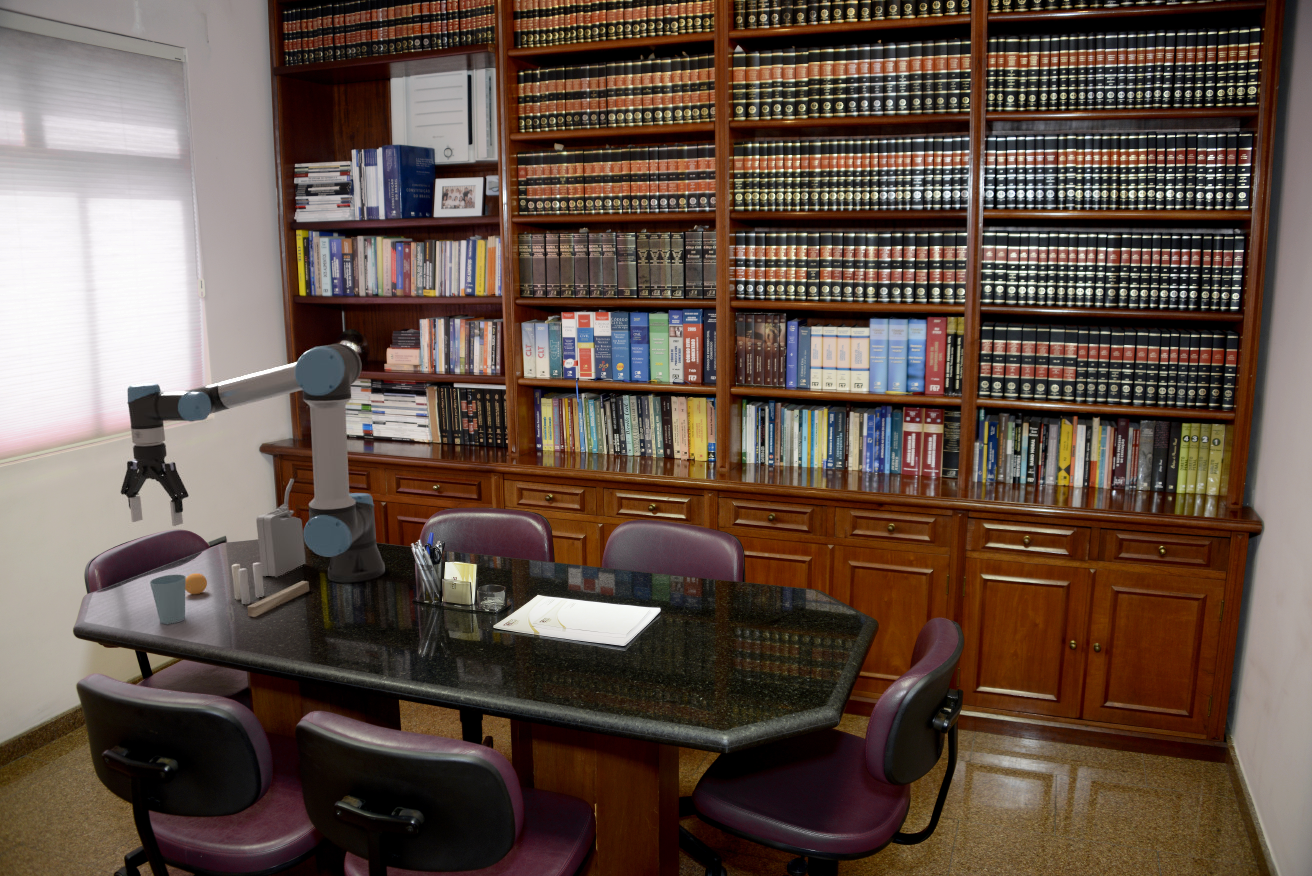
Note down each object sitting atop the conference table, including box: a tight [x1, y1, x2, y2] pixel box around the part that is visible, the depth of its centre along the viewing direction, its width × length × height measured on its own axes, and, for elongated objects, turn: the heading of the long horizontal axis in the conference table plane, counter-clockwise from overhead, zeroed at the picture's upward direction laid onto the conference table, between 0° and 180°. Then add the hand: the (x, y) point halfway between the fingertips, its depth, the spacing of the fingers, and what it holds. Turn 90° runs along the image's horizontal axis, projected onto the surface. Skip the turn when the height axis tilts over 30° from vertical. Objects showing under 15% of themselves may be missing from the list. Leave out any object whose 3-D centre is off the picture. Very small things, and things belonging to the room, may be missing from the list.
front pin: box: [231, 563, 241, 601], centre depth 241 cm, size 2×2×9 cm
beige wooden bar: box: [247, 580, 310, 618], centre depth 237 cm, size 2×20×2 cm, turn 162°
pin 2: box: [252, 562, 265, 599], centre depth 242 cm, size 2×2×9 cm
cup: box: [149, 574, 187, 625], centre depth 226 cm, size 8×8×10 cm
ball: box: [185, 572, 208, 595], centre depth 246 cm, size 6×6×6 cm
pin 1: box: [238, 568, 251, 605], centre depth 237 cm, size 2×2×9 cm
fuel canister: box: [256, 478, 306, 578], centre depth 264 cm, size 15×5×25 cm, turn 163°
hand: (157, 522), depth 245 cm, fingers open, 13 cm apart
